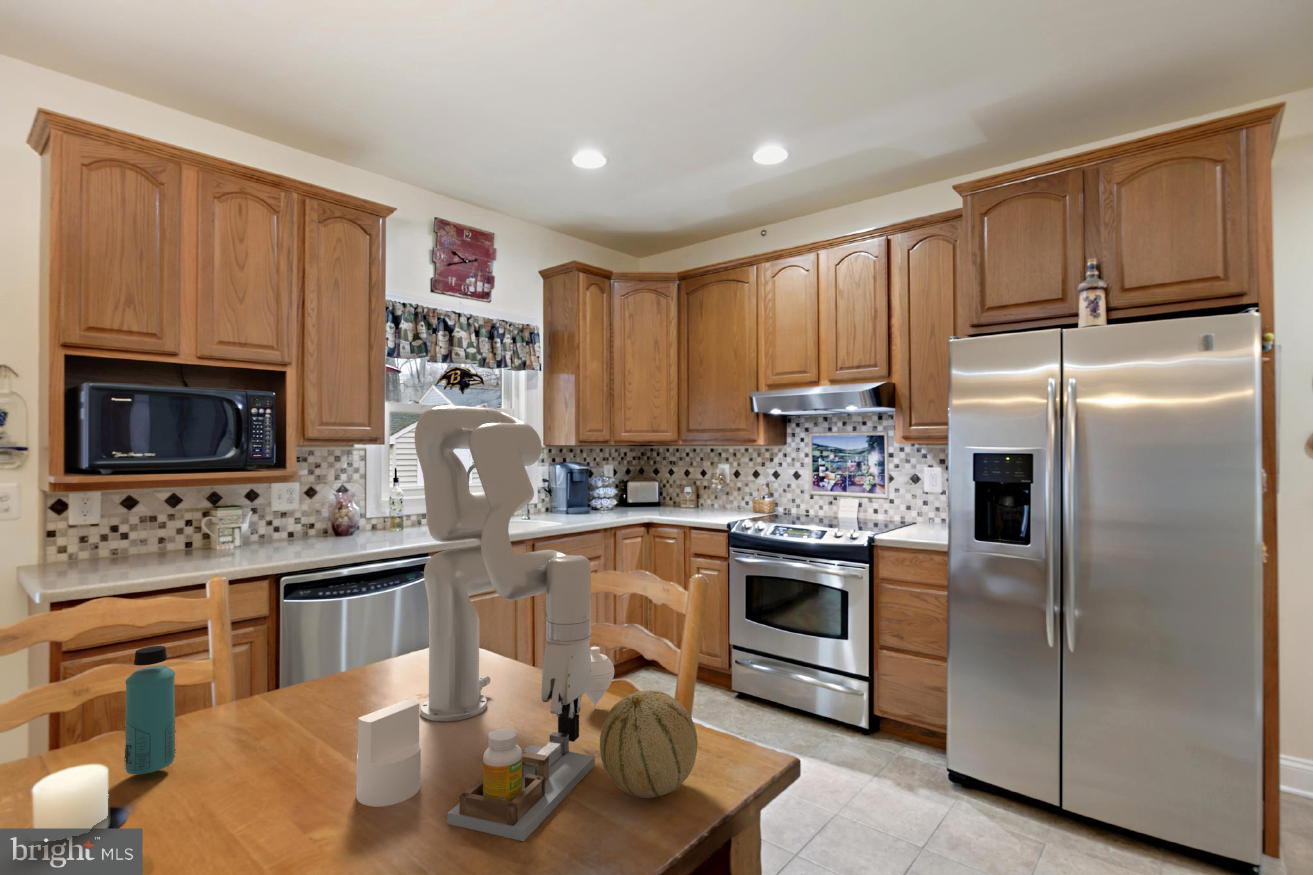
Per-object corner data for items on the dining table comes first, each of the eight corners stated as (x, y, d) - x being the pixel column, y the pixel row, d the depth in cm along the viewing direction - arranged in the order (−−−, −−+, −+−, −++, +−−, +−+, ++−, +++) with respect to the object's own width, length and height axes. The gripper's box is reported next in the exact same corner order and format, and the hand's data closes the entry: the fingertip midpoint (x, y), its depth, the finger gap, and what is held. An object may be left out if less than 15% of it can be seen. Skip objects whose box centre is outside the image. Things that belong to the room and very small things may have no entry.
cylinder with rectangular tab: (381, 813, 93) (382, 727, 93) (343, 795, 97) (344, 714, 98) (433, 785, 100) (433, 706, 101) (395, 770, 105) (396, 695, 105)
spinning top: (568, 712, 128) (568, 650, 128) (587, 698, 135) (587, 640, 135) (603, 718, 125) (603, 655, 125) (620, 704, 132) (620, 644, 133)
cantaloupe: (711, 778, 102) (711, 682, 103) (675, 828, 89) (675, 716, 89) (626, 760, 108) (626, 669, 109) (581, 804, 95) (581, 699, 95)
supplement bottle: (513, 815, 89) (514, 743, 89) (476, 811, 90) (476, 740, 90) (527, 794, 95) (527, 726, 95) (492, 791, 95) (492, 724, 96)
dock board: (530, 753, 111) (530, 724, 111) (594, 765, 107) (595, 734, 107) (447, 823, 90) (447, 787, 90) (523, 841, 86) (523, 803, 86)
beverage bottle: (185, 768, 106) (187, 643, 106) (141, 788, 99) (143, 655, 100) (157, 762, 108) (159, 639, 108) (112, 781, 101) (114, 651, 102)
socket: (494, 784, 98) (494, 767, 98) (545, 794, 95) (545, 776, 95) (459, 814, 90) (459, 795, 90) (513, 826, 87) (513, 807, 87)
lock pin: (553, 748, 109) (553, 731, 109) (568, 751, 108) (568, 734, 108) (521, 777, 99) (521, 758, 99) (537, 780, 98) (537, 761, 98)
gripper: (568, 617, 119) (568, 718, 119) (526, 639, 105) (526, 754, 105) (606, 620, 117) (606, 724, 117) (568, 644, 103) (568, 762, 103)
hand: (568, 738), depth 111 cm, fingers closed
